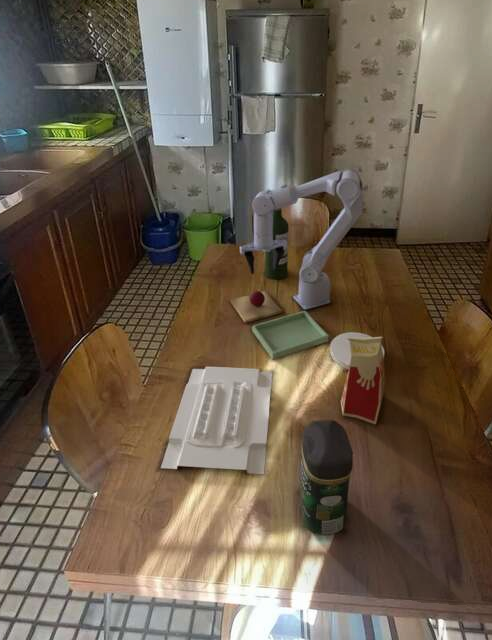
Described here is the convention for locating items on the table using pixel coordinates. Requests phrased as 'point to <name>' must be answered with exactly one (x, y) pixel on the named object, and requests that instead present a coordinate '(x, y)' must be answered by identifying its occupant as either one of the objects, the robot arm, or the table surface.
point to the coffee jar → (325, 476)
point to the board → (255, 308)
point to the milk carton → (364, 380)
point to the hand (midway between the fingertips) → (263, 270)
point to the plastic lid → (344, 348)
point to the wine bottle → (282, 234)
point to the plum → (257, 298)
